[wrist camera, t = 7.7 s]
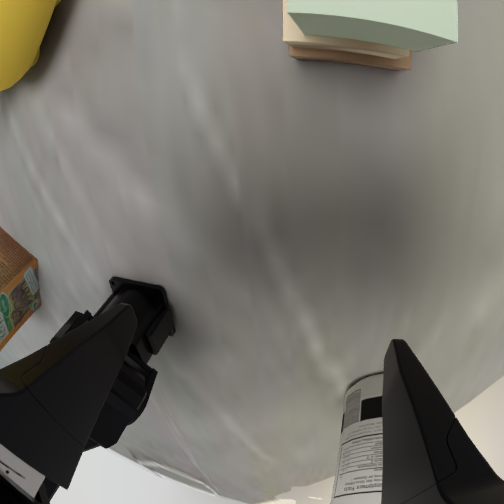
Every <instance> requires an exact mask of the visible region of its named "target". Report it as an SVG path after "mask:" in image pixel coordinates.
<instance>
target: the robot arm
mask: <svg viewBox="0 0 504 504" xmlns="http://www.w3.org/2000/svg"><path fill="white" fill-rule="evenodd" d="M109 283H110V286H111V288H112V291H113V293H112V295H111V296H110V297H109V298H108V299H107V301H106V302H105V303H104V304H103V305H102V307H101V308H100V309H99V310H98V311H97V313H96V314H95V315H94V316H92V315H91V313H90V312H89V311H88V310H87V311H86V312H85V313H84V314H82V313H80V312H77V311H75V313H74V314H73V315H72V316H71V317H70V318H69V320H68V321H67V322H66V323H65V324H64V325H63V327H62V328H61V329H60V330H59V331H58V332H57V333H56V335H55V336H54V337H53V338H52V339H51V341H50V344H48V346H45V347H43V348H41V349H40V350H38V351H36V352H34V353H32V354H31V355H29V356H27V357H25V358H23V359H21V360H19V361H17V362H15V363H12V364H10V365H8V366H6V367H4V368H2V369H0V504H50V503H49V502H50V500H51V499H52V497H53V495H54V494H55V492H56V491H57V489H58V488H59V486H62V487H63V488H65V489H68V487H69V485H70V483H71V480H72V477H73V475H74V472H75V470H76V467H77V465H78V462H79V460H80V457H81V455H82V453H83V452H84V451H87V450H90V449H93V448H96V447H98V446H102V447H104V448H109V447H111V446H112V445H114V444H116V443H117V441H118V440H119V438H120V436H121V434H122V433H123V431H124V429H125V428H126V426H127V425H130V424H132V423H133V422H134V421H136V420H137V418H138V417H139V416H140V415H141V414H142V412H143V410H144V409H145V407H146V405H147V402H148V399H149V396H150V393H151V390H152V387H153V384H154V381H155V378H156V375H157V371H156V370H155V369H153V368H151V367H150V366H148V365H147V363H148V361H149V360H150V358H151V356H152V355H153V354H154V355H156V354H158V352H159V351H160V349H161V347H162V345H163V344H164V342H165V340H166V339H167V337H168V335H169V336H173V335H174V333H175V329H174V324H173V321H172V317H171V313H170V309H169V307H168V303H167V299H166V295H165V291H164V289H163V288H162V287H159V286H155V285H150V284H145V283H140V282H135V281H130V280H125V279H120V278H115V277H112V278H111V279H110V280H109ZM382 426H383V471H382V496H381V504H504V481H503V480H502V479H501V478H500V477H499V476H498V475H497V474H496V473H495V472H494V471H493V469H492V468H491V467H490V465H489V464H488V462H487V461H486V460H485V458H484V457H483V456H482V454H481V453H480V452H479V451H478V449H477V448H476V446H475V445H474V444H473V442H472V441H471V439H470V438H469V437H468V435H467V434H466V432H465V430H464V429H463V427H462V426H461V424H460V423H459V421H458V419H457V418H455V415H454V413H453V412H452V410H451V408H450V407H449V405H448V404H447V402H446V401H445V399H444V397H443V396H442V394H441V393H440V391H439V390H438V388H437V387H436V385H435V384H434V382H433V381H432V379H431V378H430V376H429V375H428V373H427V372H426V370H425V369H424V367H423V366H422V364H421V363H420V362H419V360H418V359H417V357H416V356H415V354H414V353H413V352H412V350H411V349H410V347H409V346H408V344H407V343H406V342H405V341H404V340H402V339H393V340H391V342H390V345H389V347H388V350H387V352H386V355H385V358H384V374H383V392H382Z"/></svg>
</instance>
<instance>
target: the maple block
mask: <svg viewBox="0 0 504 504" xmlns="http://www.w3.org/2000/svg"><path fill="white" fill-rule="evenodd" d="M283 41H284V42H285V43H287V44H288V45H290V46H291V47H295V48H313V49H325V50H336V51H345V52H353V53H360V54H367V55H373V56H379V57H385V58H390V59H398V58H402V57H407V56H409V50H407V49H403V48H398V47H394V46H389V45H384V44H378V43H373V42H367V41H361V40H354V39H347V38H338V37H329V36H319V35H305V34H303V33H302V31H301V30H300V29H299V27H298V26H297V25H296V23H295V22H294V21H293V19H292V18H291V17H290V15H289V14H288V13H287V0H283Z"/></svg>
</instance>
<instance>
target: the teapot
mask: <svg viewBox="0 0 504 504" xmlns="http://www.w3.org/2000/svg"><path fill="white" fill-rule="evenodd" d="M61 1H62V0H0V91H3V90H6V89H8V88H10V87H12V86H13V85H14V84H15V83H16V82H17V81H18V80H20V79H21V78H22V77H23V75H24V74H25V73H26V72H27V71H28V70H29V68H30V67H32V66H34V65H35V64H36V63H37V61H38V58H39V54H40V48H39V47H40V45H41V42H42V40H43V37H44V35H45V32H46V29H47V27H48V24H49V22H50V19H51V16H52V13H53V11H54V8H55V6H57V5H58V4H59V3H60V2H61Z"/></svg>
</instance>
